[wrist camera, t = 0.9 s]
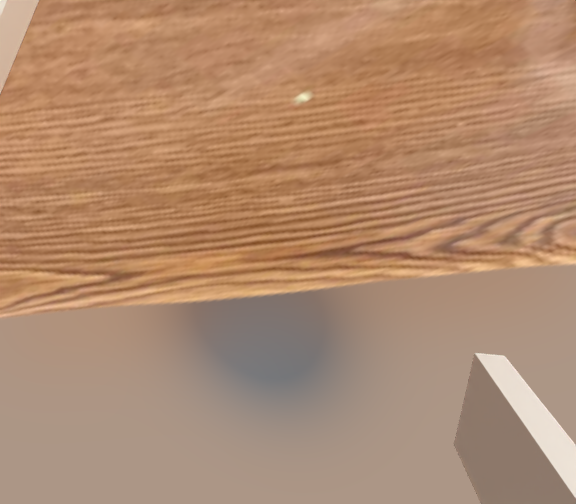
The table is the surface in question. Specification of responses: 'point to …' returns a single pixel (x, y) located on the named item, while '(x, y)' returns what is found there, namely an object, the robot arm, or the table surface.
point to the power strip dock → (13, 31)
